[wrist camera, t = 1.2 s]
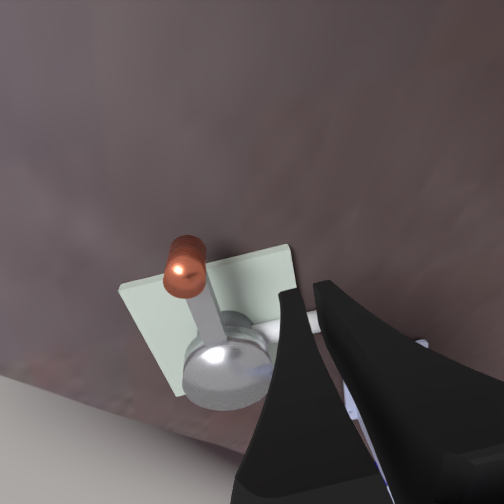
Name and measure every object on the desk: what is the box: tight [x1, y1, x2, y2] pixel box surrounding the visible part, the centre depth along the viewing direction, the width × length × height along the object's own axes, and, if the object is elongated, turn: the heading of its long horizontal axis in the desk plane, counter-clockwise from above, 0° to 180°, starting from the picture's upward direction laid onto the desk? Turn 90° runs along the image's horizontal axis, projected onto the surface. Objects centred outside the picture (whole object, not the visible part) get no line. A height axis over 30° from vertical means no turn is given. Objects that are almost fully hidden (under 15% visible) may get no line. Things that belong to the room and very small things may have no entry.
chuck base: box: [118, 244, 321, 397], centre depth 23 cm, size 12×14×3 cm
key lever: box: [163, 235, 273, 411], centre depth 19 cm, size 13×6×3 cm, turn 12°
